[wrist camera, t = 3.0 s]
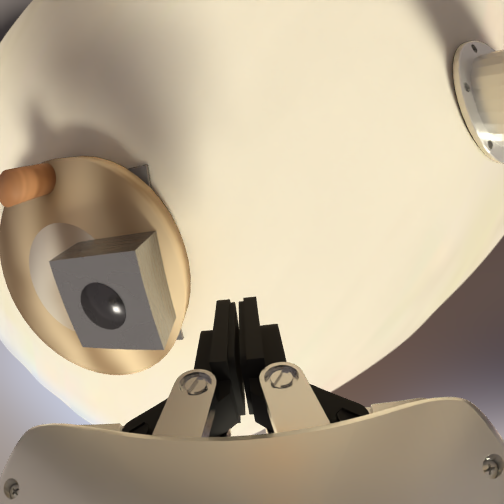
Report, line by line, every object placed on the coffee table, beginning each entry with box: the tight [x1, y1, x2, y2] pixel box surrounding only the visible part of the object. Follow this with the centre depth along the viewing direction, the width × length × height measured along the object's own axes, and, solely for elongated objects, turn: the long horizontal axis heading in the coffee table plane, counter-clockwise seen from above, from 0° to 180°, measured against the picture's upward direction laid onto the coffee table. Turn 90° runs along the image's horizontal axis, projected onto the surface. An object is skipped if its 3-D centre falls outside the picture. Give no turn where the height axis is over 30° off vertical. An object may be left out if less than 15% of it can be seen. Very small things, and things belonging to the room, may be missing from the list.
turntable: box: [0, 156, 190, 375], centre depth 16 cm, size 18×18×6 cm
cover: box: [49, 231, 176, 350], centre depth 15 cm, size 6×6×4 cm
